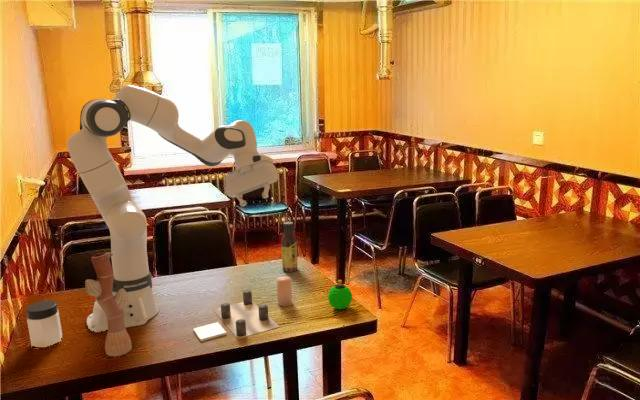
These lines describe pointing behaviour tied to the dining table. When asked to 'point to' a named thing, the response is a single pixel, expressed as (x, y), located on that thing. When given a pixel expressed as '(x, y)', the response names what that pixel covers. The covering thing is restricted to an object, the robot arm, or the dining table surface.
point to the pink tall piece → (110, 305)
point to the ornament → (340, 296)
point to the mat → (209, 331)
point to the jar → (44, 323)
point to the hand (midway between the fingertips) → (254, 201)
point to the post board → (245, 317)
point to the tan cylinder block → (284, 291)
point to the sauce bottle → (289, 248)
